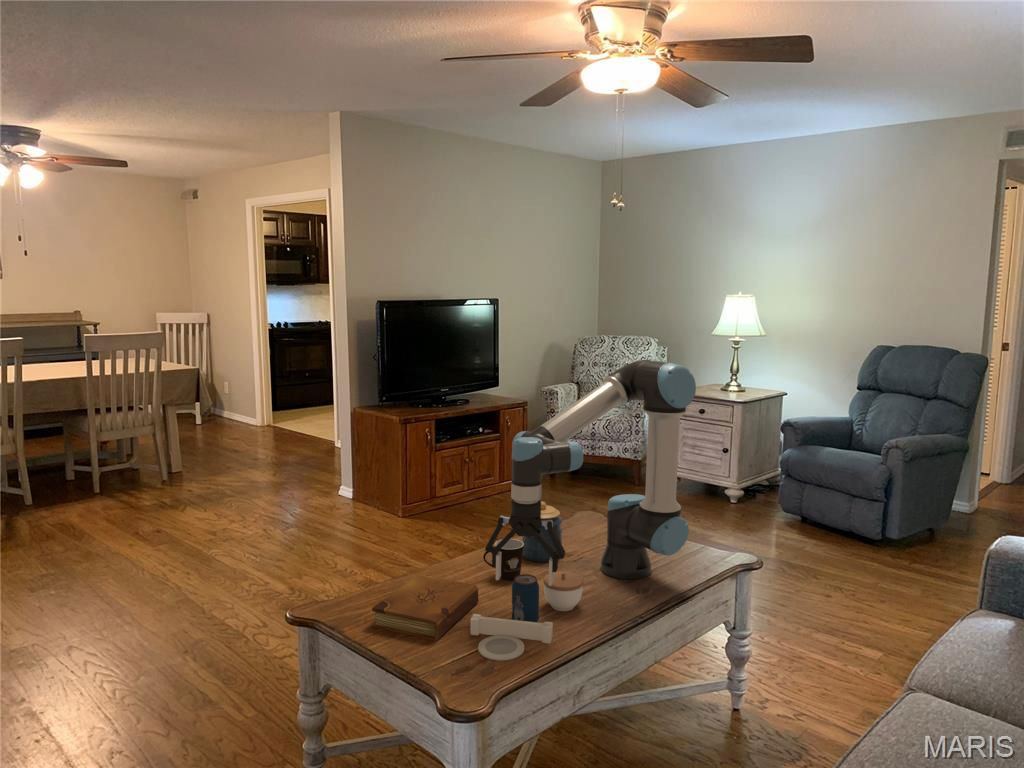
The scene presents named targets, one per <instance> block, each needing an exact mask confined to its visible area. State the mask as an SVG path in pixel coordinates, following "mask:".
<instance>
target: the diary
mask: <svg viewBox="0 0 1024 768" xmlns="http://www.w3.org/2000/svg"><path fill="white" fill-rule="evenodd" d="M478 602H479V588H478V586H477V585H476V584H473V583H468V582H463V581H457V580H451V579H445V578H440V577H435V576H430V575H423V574H417V575H415V576H414V577H413V578H411V579H410V580H409V581H407V582H405V583H404V584H403V585H402V586H400V587H399V588H397V589H396V590H395V591H393V592H392V593H391V594H389V595H388V596H386V597H385V598H384V599H382V600H381V601H380V602H378V603H377V604H375V605H374V606H373V607H372V608H371V611H372V612H374V613H375V623H373V624H372V628H375V627H377V628H376V629H379V628H381V629H380V630H384V629H385V630H384V631H388V630H389V631H388V632H393V631H394V632H393V633H397V632H399V633H398V634H402V633H403V635H406V634H408V635H407V636H411V635H413V636H412V637H416V638H420V637H421V639H425V638H426V640H429V641H433V642H434V641H435V642H437V641H438V640H439V639H440V638H442V636H443V635H444V634H446V632H447V631H449V630H450V629H451V628H452V627H453V626H454V625H455V624H456V623H457V622H458V621H459V620H460V619H461V618H463V617H464V616H465V614H467V613H468V612H469V611H470V610H471V609H472V608H473V607H475V606H476V604H478Z"/></svg>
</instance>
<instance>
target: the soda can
mask: <svg viewBox="0 0 1024 768" xmlns="http://www.w3.org/2000/svg"><path fill="white" fill-rule="evenodd" d="M511 584H512V585H511V620H519V621H528V622H537V623H539V622H538V621H539V620H540V613H539V612H540V585H539V582H538V579H537V577H536V576H534V575H532V574H529V573H526V574H520V575H518V576H516V577H515V578H514V580H513V582H512V583H511Z"/></svg>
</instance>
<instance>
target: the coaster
mask: <svg viewBox="0 0 1024 768" xmlns="http://www.w3.org/2000/svg"><path fill="white" fill-rule="evenodd" d="M477 649H478V653H479V655H480V656H482V657H484V658H485V659H488V660H492V661H498V662H499V661H500V662H501V661H502V662H503V661H504V662H505V661H511V660H514V659H517V658H519V657H521V656H522V655H523V653H524V652H525V644H524V642H523V641H522V640H521V639H520V638H515V637H512V636H507V635H496V636H494V635H490V636H488V637H485V638H483V639H482V640H481V641H479V643H478V646H477Z"/></svg>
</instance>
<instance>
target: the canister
mask: <svg viewBox="0 0 1024 768" xmlns="http://www.w3.org/2000/svg"><path fill="white" fill-rule="evenodd" d="M560 515H561V513H560V511H559V510H558V509H557V508H556V507H554V506H552V505H547V504H546V502H545V501H541V519H542V521H545V520H549V519H552V520H553V523H554V529H555V531H556V533H557V535H558V538H559V540H560V542H561V544H562V543H563V542H562V540H563V538H562V537H563V536H562V535H563V528H562V523H563V521H564V520H563V518H562V517H561V516H560ZM540 530H541V531H542V533H543V535H544V536H545V538H546V539H547V540H548V542H549V543H550V544H551V545H552V547H553V548H554V549H555V551H556V548H555V546H554V544H553V542H552V540H551V538H550V536H549V533H548V530H547V529H545V527H544V526H541V527H540ZM521 541H522V542H523V543H524V548H523V556H522V558H525V559H526V560H529V561H531V562H537V563H538V562H540V563H546V562H548V563H549V560H550V558H551V557H550V556H549V554H548V553H547V552H546V550H545V549H544V548H543V547H542V545H541V544H540V543H539V541H538V540H536V539H535V537H534V536H531V537H526V536H521ZM562 545H563V544H562ZM556 552H557V551H556Z"/></svg>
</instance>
